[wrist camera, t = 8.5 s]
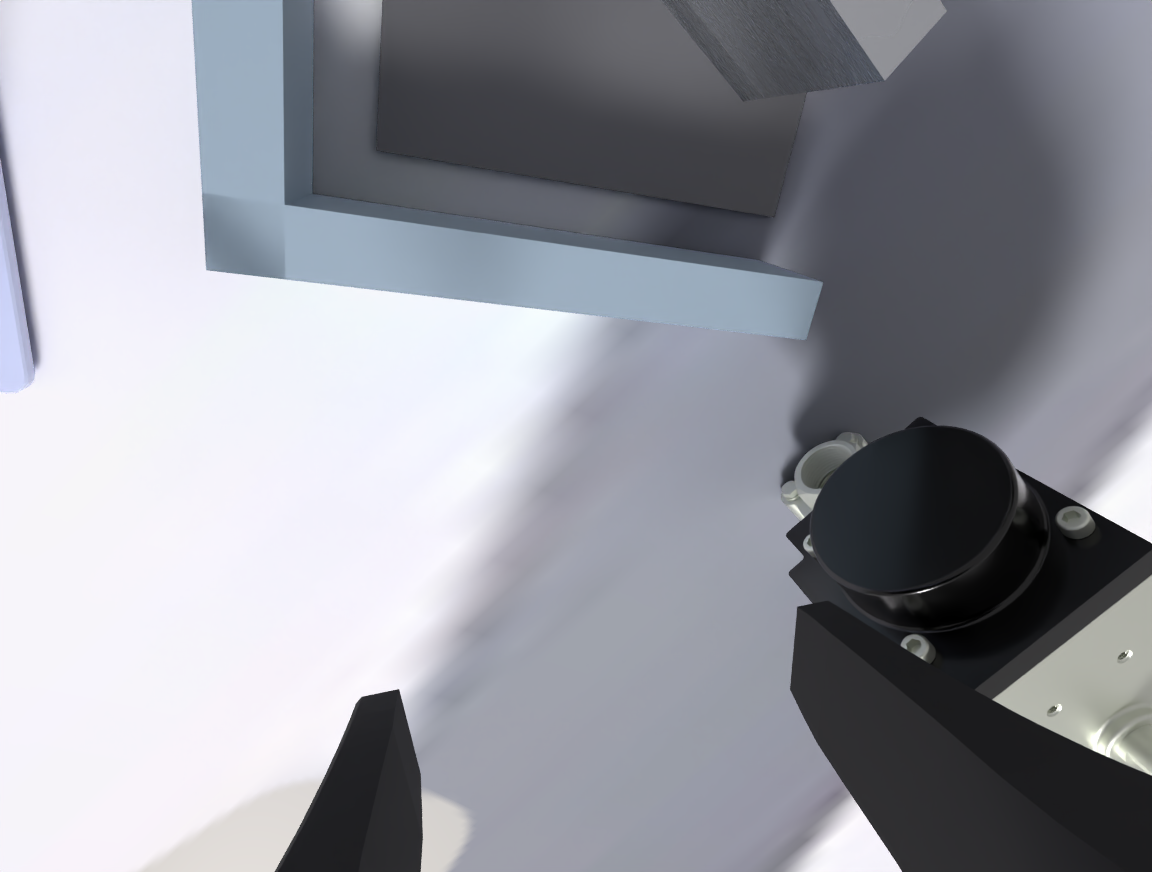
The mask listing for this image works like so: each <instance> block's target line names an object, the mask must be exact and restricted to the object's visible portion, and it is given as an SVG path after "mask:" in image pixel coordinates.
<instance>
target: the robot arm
mask: <svg viewBox="0 0 1152 872" xmlns="http://www.w3.org/2000/svg"><path fill="white" fill-rule="evenodd" d="M34 376H35V371H34V365H33V358H32V352H31V346H30V340H29V334H28V327H27V321H26V315H25V309H24V303H23V296H22V290H21V284H20V278H19V272H18V265H17V259H16V253H15V247H14V241H13V234H12V228H11V222H10V216H9V210H8V203H7V197H6V191H5V185H4V179H3V172H2V166H1V160H0V393H5V394H10V393H17V392H19V391H21V390H23V389H25V388H27V387H28V386H30V385H31V383H32V382H33V381H34ZM790 690H791V692H792V694H793V696H794V698H795V700H796V702H797V704H798V706H799V709H800V711H801V713H802V715H803V717H804V719H805V721H806V723H807V724H808V726H809V728H810V730H811V732H812V734H813V736H814V738H815V740H816V742H817V743H818V745H819V746H820V748H821V749H822V751H823V753H824V754H825V756H826V757H827V759H828V760H829V762H830V763H831V765H832V766H833V768H834V769H835V771H836V772H837V774H838V775H839V777H840V779H841V780H842V782H843V783H844V785H845V786H846V788H847V789H848V791H849V792H850V794H851V795H852V797H853V798H854V800H855V801H856V803H857V804H858V806H859V807H860V809H861V810H862V812H863V813H864V814H865V816H866V817H867V819H868V820H869V822H870V823H871V825H872V826H873V828H874V829H875V831H876V832H877V834H878V835H879V837H880V838H881V840H882V841H883V843H884V844H885V846H886V847H887V849H888V850H889V852H890V853H891V855H892V856H893V858H894V859H895V861H896V862H897V864H898V866H899V867H900V869H901V870H902V872H1152V775H1149V774H1147V773H1145V772H1142V771H1140V770H1137V769H1135V768H1132V767H1130V766H1128V765H1125V764H1123V763H1120V762H1118V761H1116V760H1114V759H1111V758H1109V757H1107V756H1105V755H1102V754H1100V753H1098V752H1096V751H1093V750H1091V749H1089V748H1087V747H1085V746H1083V745H1081V744H1079V743H1076V742H1074V741H1072V740H1070V739H1068V738H1066V737H1064V736H1062V735H1060V734H1058V733H1056V732H1054V731H1051V730H1049V729H1047V728H1045V727H1043V726H1041V725H1039V724H1037V723H1035V722H1033V721H1031V720H1029V719H1027V718H1025V717H1023V716H1021V715H1019V714H1018V713H1016V712H1014V711H1012V710H1010V709H1008V708H1006V707H1005V706H1003V705H1001V704H999V703H997V702H995V701H994V700H992V699H990V698H988V697H986V696H985V695H983V694H981V693H979V692H977V691H975V690H974V689H972V688H970V687H968V686H967V685H965V684H963V683H961V682H960V681H958V680H956V679H955V678H953V677H951V676H949V675H948V674H946V673H944V672H943V671H941V670H939V669H938V668H936V667H934V666H933V665H931V664H929V663H928V662H926V661H924V660H923V659H921V658H920V657H918V656H916V655H915V654H913V653H911V652H910V651H908V650H907V649H905V648H903V647H902V646H900V645H899V644H897V643H895V642H894V641H892V640H891V639H889V638H888V637H886V636H884V635H883V634H881V633H880V632H878V631H876V630H875V629H873V628H872V627H870V626H869V625H867V624H865V623H864V622H862V621H861V620H859V619H857V618H856V617H854V616H853V615H851V614H850V613H848V612H846V611H845V610H843V609H841V608H840V607H838V606H836V605H835V604H833V603H831V602H830V601H823V602H818V603H813V604H808V605H804V606H799V607H797V618H796V629H795V640H794V652H793V663H792V675H791V686H790ZM422 840H423V833H422V799H421V774H420V770H419V766H418V762H417V758H416V754H415V750H414V746H413V742H412V738H411V734H410V730H409V727H408V723H407V719H406V715H405V711H404V707H403V703H402V699H401V695H400V691H399V689H398V690H393V691H388V692H383V693H379V694H374V695H369V696H364V697H361V698H360V700H359V701H358V702H357V703H356V705H355V708H354V710H353V713H352V716H351V718H350V721H349V723H348V725H347V728H346V730H345V733H344V735H343V737H342V740H341V742H340V744H339V746H338V749H337V751H336V753H335V755H334V757H333V760H332V762H331V764H330V766H329V768H328V770H327V773H326V775H325V777H324V779H323V781H322V783H321V785H320V787H319V789H318V791H317V793H316V795H315V797H314V799H313V801H312V803H311V805H310V807H309V809H308V811H307V813H306V815H305V817H304V819H303V821H302V823H301V825H300V827H299V829H298V831H297V833H296V835H295V836H294V838H293V840H292V842H291V843H290V845H289V847H288V849H287V851H286V852H285V855H284V856H283V858H282V860H281V861H280V863H279V865H278V867H277V869H276V871H275V872H420V871H421V857H422Z"/></svg>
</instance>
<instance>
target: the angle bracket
mask: <svg viewBox="0 0 1152 872" xmlns="http://www.w3.org/2000/svg"><path fill="white" fill-rule="evenodd" d="M661 1H662V3H663V4H664V5H665V6H666V7H667V9H668V10H669V11H670V12H671V14H672V15H673V16H674V17H675V19H676V20H677V21H678V22H679V23H680V25H681V26H682V27H683V28H684V30H685V31H686V32H687V33H688V34H689V36H690V37H691V38H692V39H693V41H694V42H695V43H696V44H697V46H698V47H699V48H700V49H701V50H702V52H703V53H704V54H705V55H706V57H707V58H708V59H709V60H710V61H711V63H712V64H713V65H714V66H715V68H716V69H717V70H718V71H719V73H720V74H721V75H722V76H723V77H724V79H725V80H726V81H727V82H728V84H729V85H730V86H731V87H732V88H733V90H734V91H735V92H736V93H737V95H738V96H739V97H740V98H741V100H742V101H750V100H757V99H764V98H771V97H778V96H784V95H791V94H798V93H805V92H812V91H818V90H825V89H832V88H839V87H846V86H853V85H859V84H866V83H873V82H880V81H885V80H886V79H887V78H888V77H889V76H890V74H891V73H892V72H893V71H894V70H895V69H896V68H897V67H898V65H899V64H900V63H901V62H902V61H903V60H904V59H905V58H906V57H907V55H908V54H909V53H910V52H911V51H912V50H913V49H914V48H915V46H916V45H917V44H918V43H919V42H920V41H921V40H922V39H923V37H924V36H925V35H926V34H927V33H928V32H929V31H930V30H931V28H932V27H933V26H934V25H935V24H936V23H937V22H938V21H939V20H940V18H941V17H942V16H943V15H944V14H945V13H946V12H947V10H946V9H945V7H944V5H943V4H942V2H941V0H661Z"/></svg>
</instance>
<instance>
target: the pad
mask: <svg viewBox="0 0 1152 872" xmlns="http://www.w3.org/2000/svg"><path fill="white" fill-rule="evenodd" d="M806 94H807V92H805V93H798V94H791V95H784V96H778V97H771V98H764V99H757V100H750V101H742V100H741V98H740V97H739V96H738V95H737V93H736V92H735V91H734V90H733V88H732V87H731V86H730V85H729V84H728V82H727V81H726V80H725V79H724V77H723V76H722V75H721V74H720V73H719V71H718V70H717V69H716V68H715V66H714V65H713V64H712V63H711V61H710V60H709V59H708V58H707V57H706V55H705V54H704V53H703V52H702V50H701V49H700V48H699V47H698V46H697V44H696V43H695V42H694V41H693V39H692V38H691V37H690V36H689V34H688V33H687V32H686V31H685V30H684V28H683V27H682V26H681V25H680V23H679V22H678V21H677V20H676V19H675V17H674V16H673V15H672V14H671V12H670V11H669V10H668V9H667V7H666V6H665V5H664V4H663V3H662V1H661V0H383V1H382V26H381V51H380V76H379V101H378V126H377V151H383V152H389V153H395V154H401V155H407V156H413V157H419V158H425V159H431V160H437V161H442V162H448V163H454V164H460V165H466V166H472V167H478V168H484V169H490V170H496V171H502V172H508V173H514V174H520V175H526V176H532V177H538V178H544V179H550V180H555V181H561V182H567V183H573V184H579V185H585V186H591V187H597V188H603V189H609V190H615V191H621V192H627V193H633V194H639V195H645V196H651V197H657V198H663V199H669V200H674V201H680V202H686V203H692V204H698V205H704V206H710V207H716V208H722V209H728V210H734V211H740V212H746V213H752V214H758V215H764V216H770V217H774V216H775V213H776V209H777V205H778V201H779V197H780V193H781V190H782V186H783V182H784V178H785V174H786V170H787V167H788V163H789V159H790V155H791V151H792V148H793V144H794V140H795V136H796V132H797V128H798V125H799V121H800V117H801V113H802V109H803V105H804V102H805V98H806Z"/></svg>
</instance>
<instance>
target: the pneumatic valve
mask: <svg viewBox="0 0 1152 872" xmlns="http://www.w3.org/2000/svg"><path fill="white" fill-rule="evenodd" d="M794 476H795V481H788V482H787V483H785V484H784V485H783V487H782V494H781V500H782V502H783V503H784V504H785V505H786V506H787V507H788V508H789V509H790V510H791V511H792V512H793V513H794V514H795V516H796V517H797V518H798V519H799V520H800V522H799V523H798V524H797V525H795V526H794V527H793V528H792V529H791V530H790V531H789V532H788V533H787V534H786V537H787V538H788V539H789V540H790V541H791V542H792V543H793V545H794V546H795V547H796V548H797V549H798V550H799V551H800V552H801V553H802V554H803V556H804V558H803V560H802V561H801V562H800V563H798V564H797V565H796V566H795V567H794V568H793V569H792V570H790V572H789V576H790V577H791V578H792V579H793V580H794V582H795V583H796V584H797V585H798V586H799V588H800V589H801V590H802V591H803V592H804V594H805V595H806V596H807V597H808V598H809V600H810V601H811V602H812V603H818V602H823V601H830V602H831V603H833V604H835V605H836V606H838V607H840V608H841V609H843V610H845V611H846V612H848V613H850V614H851V615H853V616H854V617H856V618H857V619H859V620H861V621H862V622H864V623H865V624H867V625H869V626H870V627H872V628H873V629H875V630H876V631H878V632H880V633H881V634H883V635H884V636H886V637H888V638H889V639H891V640H892V641H894V642H895V643H897V644H899V645H900V646H902V647H903V648H905V649H907V650H908V651H910V652H911V653H913V654H915V655H916V656H918V657H920V658H921V659H923V660H924V661H926V662H928V663H929V664H931V665H933V666H934V667H936V668H938V669H939V670H941V671H943V672H944V673H946V674H948V675H949V676H951V677H953V678H955V679H956V680H958V681H960V682H961V683H963V684H965V685H967V686H968V687H970V688H972V689H974V690H975V691H977V692H979V693H981V694H983V695H985V696H986V697H988V698H990V699H992V700H994V701H995V702H997V703H999V704H1001V705H1003V706H1005V707H1006V708H1008V709H1010V710H1012V711H1014V712H1016V713H1018V714H1019V715H1021V716H1023V717H1025V718H1027V719H1029V720H1031V721H1033V722H1035V723H1037V724H1039V725H1041V726H1043V727H1045V728H1047V729H1049V730H1051V731H1054V732H1056V733H1058V734H1060V735H1062V736H1064V737H1066V738H1068V739H1070V740H1072V741H1074V742H1076V743H1079V744H1081V745H1083V746H1085V747H1087V748H1089V749H1091V750H1093V751H1096V752H1098V753H1100V754H1102V755H1105V756H1107V757H1109V758H1111V759H1114V760H1116V761H1118V762H1120V763H1123V764H1125V765H1128V766H1130V767H1132V768H1135V769H1137V770H1140V771H1142V772H1145V773H1147V774H1149V775H1152V543H1150V542H1148V541H1146V540H1145V539H1143V538H1141V537H1139V536H1137V535H1136V534H1134V533H1132V532H1130V531H1128V530H1126V529H1125V528H1123V527H1121V526H1119V525H1117V524H1115V523H1114V522H1112V521H1110V520H1108V519H1106V518H1105V517H1103V516H1101V515H1099V514H1097V513H1095V512H1094V511H1092V510H1090V509H1088V508H1086V507H1085V506H1083V505H1081V504H1079V503H1077V502H1075V501H1074V500H1072V499H1070V498H1068V497H1066V496H1065V495H1063V494H1061V493H1059V492H1057V491H1055V490H1054V489H1052V488H1050V487H1048V486H1046V485H1045V484H1043V483H1041V482H1039V481H1037V480H1035V479H1034V478H1032V477H1030V476H1028V475H1026V474H1025V473H1023V472H1021V471H1019V470H1017V469H1015V467H1014V466H1013V464H1012V463H1011V461H1010V460H1009V458H1008V457H1007V455H1006V454H1005V453H1004V452H1003V451H1002V450H1001V449H1000V448H999V447H998V446H997V445H996V444H995V443H993V442H992V441H990V440H989V439H987V438H986V437H984V436H982V435H980V434H978V433H975V432H973V431H970V430H967V429H963V428H958V427H952V426H937V425H935V424H934V423H932V422H930V421H928V420H926V419H924V418H923V417H919V418H917V419H916V420H915V421H913V422H912V423H911V424H910V425H909V426H908V427H907V428H906V429H904V430H901V431H898V432H895V433H892V434H889V435H887V436H884V437H882V438H879V439H877V440H875V441H873V442H872V443H870V444H868V443H867V442H866V441H865V439H864V438H863V437H862V436H861V435H860V434H859V433H851V432H843V433H841V434H840V435H839V436H838V437H837V438H836V440H832V441H828V442H824V443H822V444H820V445H818V446H816V447H814V448H813V449H811V450H810V451H809V452H808V453H806V454H805V455H804V457H803V458H802V459H801V460H800V462H799V464H798V465H797V467H796V470H795V475H794Z"/></svg>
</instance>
